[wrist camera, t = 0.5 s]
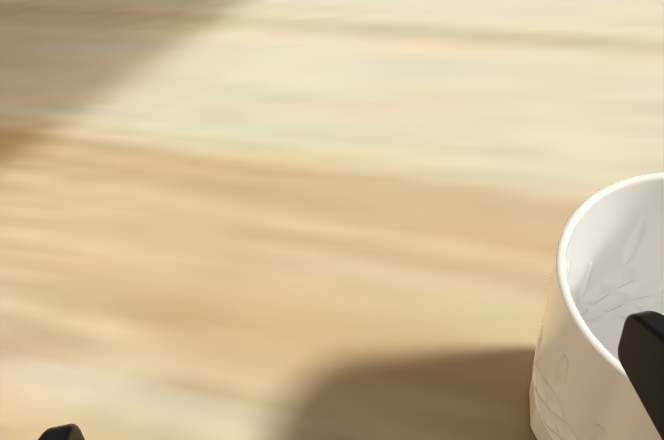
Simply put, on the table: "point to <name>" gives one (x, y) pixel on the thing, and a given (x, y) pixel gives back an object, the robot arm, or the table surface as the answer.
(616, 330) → the white cup
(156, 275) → the table surface
